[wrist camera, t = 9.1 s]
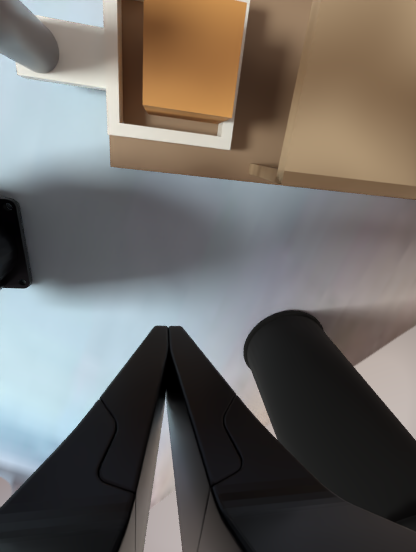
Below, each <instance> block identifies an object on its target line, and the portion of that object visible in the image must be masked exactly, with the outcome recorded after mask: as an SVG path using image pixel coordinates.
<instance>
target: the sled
mask: <svg viewBox="0 0 416 552" xmlns="http://www.w3.org/2000/svg"><path fill="white" fill-rule="evenodd" d="M135 1H140V2H144V0H135ZM237 1H241V2H246V3H247V7H246V15H245V22H244V30H243V38H242V45H241V53H240V61H239V68H238V76H237V83H236V91H235V99H234V106H233V114H232V118H231V119H228V120H226V121H224V122H221V123H219V124H218V133H217V136H212V135H204V134H197V133H190V132H182V131H175V130H168V129H160V128H153V127H146V126H138V125H131V124H123V78H122V9H121V0H103V19H104V28H101V27H96V26H90V25H85V24H80V23H75V22H69V21H64V20H59V19H54V18H49V17H43V16H38V15H34V14H33V13H32V12H31V11H30V10H29V9H28V8H27V7H26V6H25V5H24V4H23V3H22V2H21V1H20V0H0V53H1V54H3V55H5V56H6V57H8V58H10V59H12V60H14V61H15V62H16V69H17V75H19V76H21V77H23V78H26V79H33V80H39V81H46V82H52V83H59V84H65V85H72V86H78V87H85V88H91V89H98V90H104V91H106V102H107V130H108V135H114V136H122V137H130V138H138V139H146V140H153V141H161V142H169V143H177V144H185V145H193V146H200V147H208V148H216V149H224V150H230V147H231V140H232V132H233V125H234V117H235V110H236V102H237V95H238V87H239V80H240V73H241V65H242V58H243V50H244V43H245V35H246V28H247V20H248V13H249V6H250V0H237Z"/></svg>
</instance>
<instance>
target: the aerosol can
mask: <svg viewBox="0 0 416 552" xmlns="http://www.w3.org/2000/svg"><path fill="white" fill-rule="evenodd" d="M244 359H245V362H246V364H247V366H248V367H249V368H250V369H251V371H252V373H253V376H254V379H255V381H256V384H257V387H258V389H259V392H260V395H261V397H262V400H263V402H264V405H265V408H266V410H267V413H268V416H269V418H270V421H271V424H272V426H273V429H274V432H275V434H276V437H277V440H278V441H279V442H280V443H281V444H282V445H283V446H284V447H285V448H286V449H287V450H288V451H289V452H290V453H291V454H292V455H293V456H294V457H295V458H296V459H297V460H298V461H299V462H300V463H301V464H302V465H303V466H304V467H305V468H306V469H307V470H308V471H309V472H310V473H311V474H312V475H313V476H314V477H315V478H316V479H317V480H318V481H319V482H320V483H321V484H323V485H324V486H325V487H326V488H328V489H329V490H330V491H331V492H333V493H334V494H336V495H337V496H338V497H340V498H342V499H343V500H345V501H347V502H349V503H351V504H353V505H355V506H357V507H360V508H362V509H364V510H367V511H369V512H371V513H374V514H376V515H378V516H380V517H383V518H385V519H387V520H390V521H392V522H394V523H397V524H399V525H401V526H404V527H406V528H408V529H410V530H413V531H415V532H416V440H415V439H414V438H413V437H412V435H411V434H410V433H409V432H408V431H407V429H405V427H404V426H403V425H402V424H401V422H400V421H399V420H398V419H397V418H396V417H395V415H394V414H393V413H392V412H391V411H390V409H389V408H388V407H387V406H386V405H385V403H384V402H383V401H382V400H381V399H380V398H379V397H378V395H377V394H376V393H375V392H374V391H373V389H372V388H371V387H370V386H369V385H368V384H367V382H366V381H365V380H364V379H363V377H362V376H361V375H360V374H359V373H358V372H357V370H356V369H355V368H354V367H353V366H352V364H351V363H350V362H349V361H348V360H347V359H346V357H345V356H344V355H343V354H342V353H341V351H340V350H339V349H338V348H337V347H336V346H335V344H334V343H333V342H332V341H331V340H330V338H329V337H328V336H327V335H326V334H325V332H324V331H323V327H322V325H321V324H320V322H319V321H318V320H317V319H316V318H315V317H313V316H311V315H309V314H307V313H304V312H301V311H285V312H280V313H277V314H274V315H272V316H270V317H267V318H266V319H264V320H263V321H261V322H260V323H259V324H258V325H256V326H255V327H254V328H253V330H252V331H251V332H250V334H249V335H248V337H247V339H246V341H245V345H244Z"/></svg>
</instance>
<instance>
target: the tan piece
mask: <svg viewBox="0 0 416 552" xmlns="http://www.w3.org/2000/svg"><path fill="white" fill-rule="evenodd" d="M121 9H122V78H123V124H131V125H138V126H146V127H153V128H160V129H168V130H175V131H182V132H190V133H197V134H204V135H212V136H217V133H218V124H213V123H206V122H199V121H192V120H185V119H178V118H171V117H164V116H157V115H150V114H148V113H147V112H146V110H145V108H144V106H143V16H144V2H140V1H135V0H121ZM110 165H111V167H117V168H127V169H136V170H145V171H154V172H163V173H173V174H182V175H191V176H200V177H210V178H219V179H228V180H237V181H246V182H256V183H265V184H274V185H283V186H293V187H302V188H311V189H320V190H329V191H339V192H348V193H357V194H366V195H376V196H385V197H394V198H403V199H412V200H416V0H250V6H249V13H248V20H247V28H246V35H245V43H244V50H243V58H242V65H241V73H240V80H239V87H238V95H237V102H236V110H235V117H234V125H233V132H232V140H231V147H230V150H224V149H216V148H208V147H200V146H193V145H185V144H177V143H169V142H161V141H153V140H146V139H138V138H130V137H122V136H114V135H110Z"/></svg>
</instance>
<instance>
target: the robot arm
mask: <svg viewBox="0 0 416 552" xmlns="http://www.w3.org/2000/svg"><path fill="white" fill-rule="evenodd" d="M7 203H9V204H10V205H11V206H12V210H11V209H9V208H8V207H7ZM21 279H23V280H25V281H26V283H23V282H22V281H21ZM31 283H32V277H31V271H30V266H29V260H28V254H27V248H26V243H25V237H24V231H23V225H22V220H21V214H20V208H19V205H18V203H17V202H16V201H15V200H14V199H11V198H3V197H0V290H1V289H2V288H27V287H29V286H30V285H31ZM165 397H166V403H167V413H168V422H169V432H170V441H171V450H172V459H173V469H174V478H175V487H176V496H177V505H178V515H179V524H180V533H181V541H182V552H416V532H415V531H413V530H410V529H408V528H406V527H404V526H401V525H399V524H397V523H394V522H392V521H390V520H387V519H385V518H383V517H380V516H378V515H376V514H374V513H371V512H369V511H367V510H364V509H362V508H360V507H357V506H355V505H353V504H351V503H349V502H347V501H345V500H343V499H342V498H340V497H338V496H337V495H336V494H334V493H333V492H331V491H330V490H329V489H328V488H326V487H325V486H324V485H323V484H321V483H320V482H319V481H318V480H317V479H316V478H315V477H314V476H313V475H312V474H311V473H310V472H309V471H308V470H307V469H306V468H305V467H304V466H303V465H302V464H301V463H300V462H299V461H298V460H297V459H296V458H295V457H294V456H293V455H292V454H291V453H290V452H289V451H288V450H287V449H286V448H285V447H284V446H283V445H282V444H281V443H280V442H279V441H278V440H277V439H276V438H275V437H274V436H273V435H272V434H271V433H270V432H269V431H268V430H267V429H266V428H265V427H264V426H263V425H262V424H261V423H260V421H259V420H258V419H257V418H256V417H255V416H254V415H253V414H252V412H251V411H250V410H249V409H248V408H247V407H246V405H245V404H244V403H243V402H242V400H241V399H240V398H239V397H238V396H237V395H236V393H235V392H234V391H233V389H232V388H231V387H230V386H229V384H228V383H227V382H226V381H225V379H224V378H223V377H222V376H221V375H220V373H219V372H218V371H217V370H216V368H215V367H214V366H213V365H212V363H211V362H210V361H209V360H208V358H207V357H206V356H205V355H204V353H203V352H202V351H201V350H200V349H199V347H198V346H197V345H196V344H195V342H194V341H193V340H192V339H191V337H190V336H189V335H188V334H187V332H186V331H185V330H184V329H183V327H181V326H169V327H167V326H155V327H154V328H153V329H152V330H151V332H150V333H149V334H148V336H147V337H146V338H145V339H144V341H143V342H142V343H141V345H140V346H139V347H138V349H137V350H136V351H135V352H134V354H133V355H132V356H131V358H130V359H129V360H128V362H127V363H126V364H125V365H124V367H123V368H122V369H121V371H120V372H119V373H118V375H117V376H116V377H115V379H114V380H113V381H112V382H111V384H110V385H109V386H108V388H107V389H106V390H105V392H104V393H103V394H102V395H101V397H100V400H97V402H96V403H95V404H94V406H93V407H92V408H91V410H90V411H89V412H88V413H87V415H86V416H85V417H84V418H83V419H82V421H81V422H80V423H79V424H78V426H77V427H76V428H75V429H74V430H73V431H72V433H71V434H70V435H69V436H68V437H67V438H66V439H65V440H64V441H63V442H62V443H61V445H60V446H59V447H58V448H57V449H56V450H55V451H54V452H53V453H52V454H51V455H50V456H49V457H48V458H47V459H46V460H45V461H44V463H43V464H42V465H41V466H40V467H39V468H38V469H37V470H36V471H35V472H34V473H33V474H32V475H31V476H30V477H29V478H28V479H27V480H26V481H25V482H24V484H23V485H22V486H21V487H20V488H19V489H18V490H17V491H16V492H15V493H14V494H13V495H12V496H11V497H10V498H9V499H8V500H7V501H6V502H5V504H3V506H2V507H1V508H0V552H143V550H144V543H145V536H146V529H147V522H148V516H149V509H150V502H151V495H152V488H153V481H154V475H155V468H156V461H157V454H158V447H159V440H160V434H161V427H162V420H163V413H164V406H165Z"/></svg>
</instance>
